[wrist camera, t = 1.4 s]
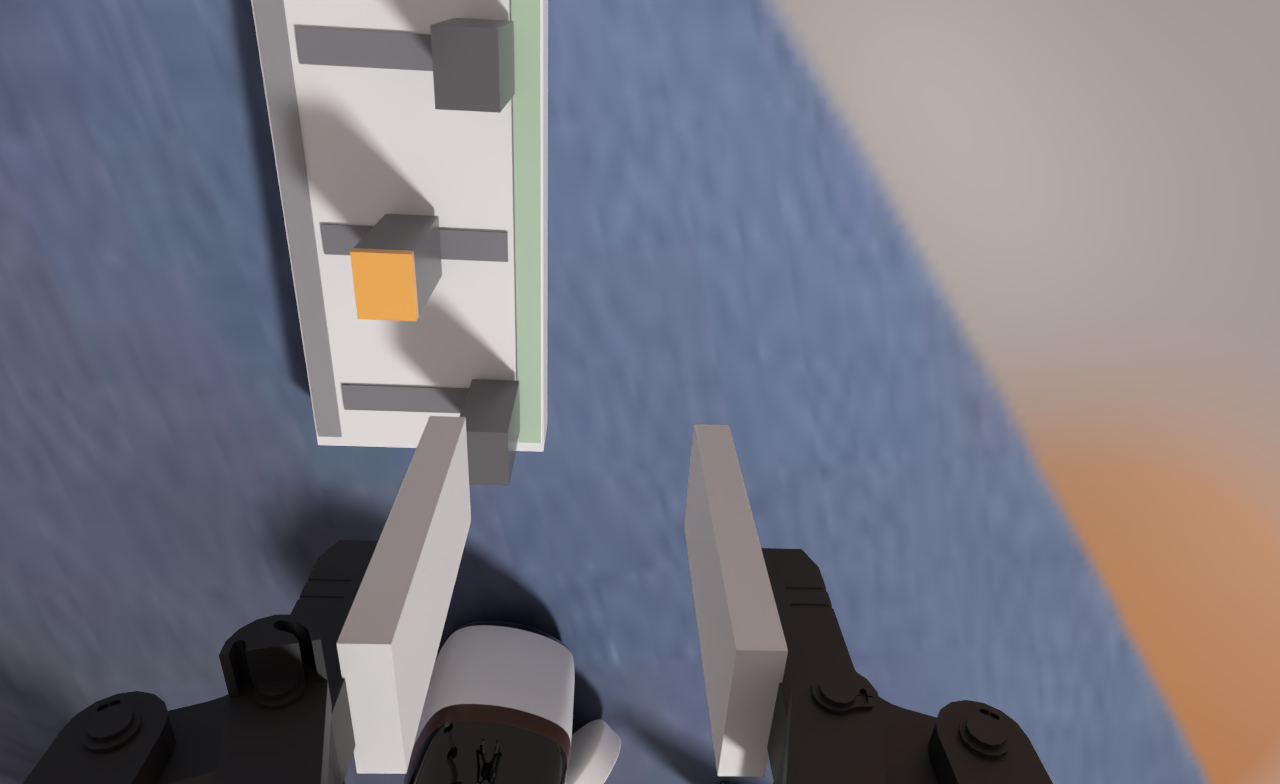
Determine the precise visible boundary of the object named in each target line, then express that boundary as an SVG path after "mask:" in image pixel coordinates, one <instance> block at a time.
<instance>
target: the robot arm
mask: <svg viewBox="0 0 1280 784" xmlns="http://www.w3.org/2000/svg"><path fill="white" fill-rule="evenodd" d="M470 523H471V512H470V492H469V473H468V453H467V434H466V417H448V416H430V417H429V419H428V421H427V424H426V426H425V429H424V431H423V434H422V436H421V438H420V441H419V443H418V446H417V448H416V451H415V453H414V456H413V458H412V460H411V463H410V465H409V468H408V470H407V473H406V475H405V478H404V480H403V482H402V485H401V487H400V490H399V492H398V495H397V497H396V499H395V502H394V504H393V507H392V509H391V512H390V514H389V517H388V519H387V521H386V524H385V526H384V529H383V531H382V534H381V536H380V538H379V541H352V540H339V541H338V542H337V543H336V544H334V545H333V546H332V547H331V548H330V549H329V550H328V551H326V552H325V553H324V554H323V555H322V556H321V557H319V559H318V561H317V563H316V565H315V567H314V569H313V571H312V573H311V575H310V577H309V579H308V583H306V585H305V587H304V589H303V591H302V593H301V595H300V600H298V601H297V603H296V605H295V607H294V609H293V611H292V613H291V615H273V616H269V617H266V618H262V619H258V620H255V621H254V622H252V623H250V624H248V625H246V626H244V627H242V628H240V629H239V630H238V631H237V632H235V633H234V634H233V635H232V636H231V637H230V638H229V639H228V640H227V641H226V642H225V644H224V646H223V648H222V650H221V652H220V654H219V657H220V661H221V665H222V669H223V673H224V677H225V681H226V685H227V689H228V693H229V694H228V695H226V696H224V697H221V698H218V699H215V700H212V701H208V702H205V703H200V704H196V705H192V706H188V707H183V708H179V709H175V710H170V711H167V708H166V705H165V702H164V701H162V700H161V699H160V698H158V697H157V696H156V695H154V694H150V693H145V692H139V691H136V692H128V693H121V694H116V695H113V696H111V697H108V698H105V699H103V700H100V701H97V702H95V703H94V704H92V705H91V706H89V707H87V708H86V709H84V710H83V711H81V712H80V713H78V714H77V715H76V716H75V717H74V718H73V719H72V720H71V721H70V722H69V723H68V724H67V725H66V726H65V727H64V728H63V729H62V730H61V732H60V733H59V735H58V736H57V737H56V739H55V740H54V742H53V743H52V744H51V746H50V747H49V749H48V750H47V751H46V753H45V754H44V756H43V757H42V758H41V760H40V761H39V763H38V764H37V765H36V767H35V768H34V770H33V771H32V772H31V774H30V775H29V777H28V778H27V779H26V781H25V782H24V784H345V776H346V773H347V770H348V767H349V764H350V761H351V758H352V755H353V752H354V757H355V763H356V769H357V773H380V774H406V773H407V769H408V765H409V761H410V757H411V753H412V750H413V746H414V742H415V738H416V734H417V730H418V726H419V722H420V718H421V714H422V710H423V707H424V703H425V699H426V695H427V691H428V687H429V683H430V679H431V675H432V671H433V667H434V663H435V660H436V656H437V652H438V648H439V644H440V640H441V636H442V632H443V628H444V624H445V620H446V617H447V613H448V609H449V605H450V601H451V597H452V593H453V589H454V585H455V581H456V577H457V574H458V570H459V566H460V562H461V558H462V554H463V550H464V546H465V542H466V538H467V534H468V531H469V527H470ZM684 529H685V536H686V544H687V551H688V559H689V566H690V574H691V581H692V589H693V596H694V604H695V611H696V619H697V626H698V634H699V641H700V648H701V656H702V663H703V671H704V678H705V686H706V693H707V701H708V708H709V716H710V723H711V731H712V738H713V746H714V753H715V761H716V768H717V776H759V777H764V776H765V771H766V766H767V760H768V755H769V759H770V764H771V769H772V774H773V779H774V783H773V784H1053V783H1052V781H1051V779H1050V777H1049V776H1048V774H1047V772H1046V770H1045V768H1044V766H1043V764H1042V763H1041V761H1040V759H1039V757H1038V755H1037V753H1036V751H1035V750H1034V748H1033V746H1032V744H1031V742H1030V740H1029V738H1028V737H1027V736H1026V734H1025V733H1024V732H1023V730H1022V729H1021V728H1020V726H1019V725H1018V724H1017V723H1016V722H1015V721H1014V720H1012V719H1011V718H1010V717H1008V716H1007V715H1006V714H1004V713H1003V712H1002V711H1000V710H998V709H996V708H993V707H991V706H989V705H987V704H984V703H980V702H974V701H968V700H963V701H957V702H951V703H949V704H948V705H946V706H945V707H944V708H942V709H941V710H940V712H939V714H938V717H937V718H936V717H932V716H929V715H925V714H922V713H918V712H914V711H911V710H907V709H904V708H901V707H898V706H896V705H893V704H890V703H889V702H887V701H885V700H883V699H882V698H880V697H879V696H878V693H877V691H876V690H875V689H874V687H873V686H872V685H871V684H870V682H869V681H868V680H867V679H866V678H864V677H863V676H861V675H860V674H858V673H857V672H856V671H855V669H854V667H853V664H852V661H851V658H850V655H849V652H848V650H847V647H846V644H845V641H844V638H843V635H842V632H841V630H840V627H839V624H838V621H837V618H836V615H835V613H834V610H833V609H832V604H831V601H830V598H829V595H828V593H827V592H826V587H825V584H824V581H823V578H822V576H821V573H820V570H819V567H818V566H817V565H816V564H815V563H814V562H813V561H812V560H811V559H810V558H809V557H808V556H807V555H806V553H805V552H804V551H803V550H802V549H770V548H761V546H760V542H759V538H758V534H757V531H756V527H755V523H754V519H753V515H752V511H751V508H750V504H749V500H748V496H747V492H746V489H745V485H744V481H743V477H742V473H741V470H740V466H739V462H738V458H737V454H736V451H735V447H734V443H733V439H732V435H731V432H730V428H729V425H700V424H694V432H693V442H692V452H691V462H690V472H689V482H688V492H687V503H686V513H685V523H684Z"/></svg>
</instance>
